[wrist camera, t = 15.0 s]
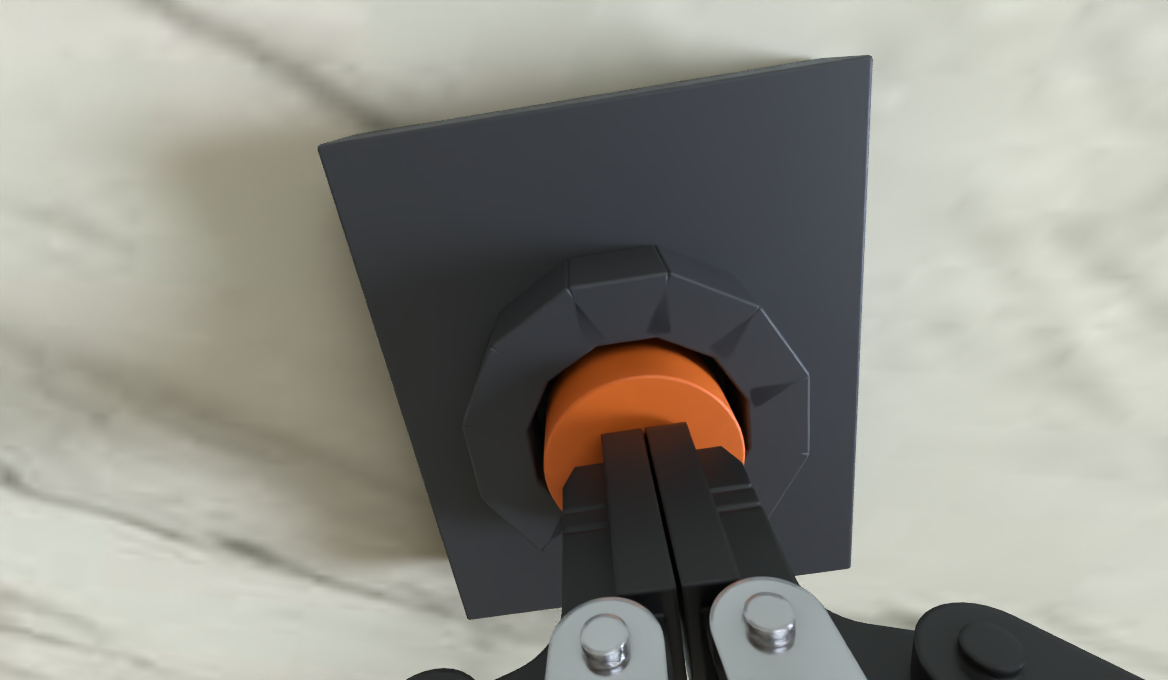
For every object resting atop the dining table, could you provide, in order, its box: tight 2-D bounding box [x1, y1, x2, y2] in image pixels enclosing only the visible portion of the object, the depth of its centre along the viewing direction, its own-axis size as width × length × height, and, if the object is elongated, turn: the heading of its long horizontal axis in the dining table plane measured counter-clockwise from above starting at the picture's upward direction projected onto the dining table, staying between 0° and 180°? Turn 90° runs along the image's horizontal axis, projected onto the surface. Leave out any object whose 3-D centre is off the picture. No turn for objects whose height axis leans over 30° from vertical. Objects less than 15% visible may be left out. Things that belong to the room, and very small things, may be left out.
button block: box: [318, 55, 873, 620], centre depth 13 cm, size 12×10×4 cm
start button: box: [544, 337, 745, 512], centre depth 11 cm, size 4×4×2 cm
